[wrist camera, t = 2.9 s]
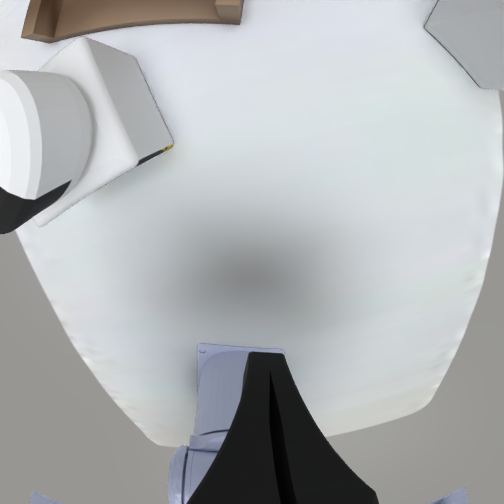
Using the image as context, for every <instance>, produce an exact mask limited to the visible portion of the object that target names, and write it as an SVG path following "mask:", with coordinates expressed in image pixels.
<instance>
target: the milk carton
mask: <svg viewBox="0 0 504 504" xmlns="http://www.w3.org/2000/svg"><path fill="white" fill-rule="evenodd" d="M425 28H426V29H427V30H428V31H429V32H430V33H431V34H432V35H433V36H434V37H435V38H436V39H437V40H438V41H439V42H440V43H441V44H442V45H443V46H444V47H445V48H446V49H447V50H448V51H449V52H450V53H451V54H452V55H453V56H454V57H455V59H456V60H457V61H458V62H459V63H460V64H461V65H462V66H463V67H464V69H465V70H466V71H467V72H468V73H469V74H470V76H471V77H472V78H473V79H474V80H475V82H476V83H477V84H478V85H479V86H480V88H483V89H495V90H504V0H439V1H438V3H437V4H436V6H435V8H434V10H433V12H432V14H431V16H430V18H429V19H428V21H427V23H426V25H425Z"/></svg>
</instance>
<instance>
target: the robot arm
mask: <svg viewBox="0 0 504 504" xmlns="http://www.w3.org/2000/svg"><path fill="white" fill-rule="evenodd" d="M200 350H205V352H204V353H202V352H200ZM284 354H285V351H284V350H282V349H270V348H252V347H238V346H226V345H215V344H205V343H200V344H198V346H197V378H198V403H197V411H196V420H195V429H194V435H191V437H190V446H189V447H188V446H184V445H183V446H180V447H179V449H177V450H176V451H174V453H173V455H172V458H171V462H170V468H169V476H168V502H169V504H379V502H378V499H377V496H376V493H375V491H374V490H373V489H372V488H370V487H369V486H368V485H367V484H366V483H365V482H364V481H362V480H361V479H360V478H359V477H358V476H357V475H356V474H355V473H354V472H353V471H352V470H351V469H350V468H349V467H348V466H347V464H345V462H344V461H343V460H342V459H341V457H340V456H339V455H338V454H337V453H336V452H335V450H334V449H333V448H332V446H331V445H330V444H329V442H328V441H327V440H326V438H325V437H324V435H323V434H322V432H321V431H320V429H319V428H318V426H317V425H316V423H315V421H314V420H313V418H312V416H311V414H310V413H309V411H308V409H307V407H306V405H305V403H304V401H303V399H302V397H301V395H300V393H299V391H298V389H297V387H296V385H295V382H294V380H293V378H292V375H291V373H290V370H289V368H288V365H287V362H286V359H285V356H284ZM30 504H64V503H61V502H59V501H56V500H54V499H50V498H47V497H45V496H43V495H41V494H39V493H36V492H32V496H31V501H30ZM427 504H469V503H468V498H467V494H466V490H465V488H462V489H459V490H457V491H455V492H453V493H451V494H449V495H447V496H444V497H441V498H439V499H436V500H434V501H431V502H429V503H427Z"/></svg>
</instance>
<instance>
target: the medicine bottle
mask: <svg viewBox="0 0 504 504" xmlns="http://www.w3.org/2000/svg"><path fill="white" fill-rule="evenodd" d="M171 147H173V140H172V138H171V136H170V133H169V131H168V129H167V127H166V125H165V123H164V121H163V118H162V116H161V114H160V112H159V110H158V108H157V106H156V103H155V101H154V99H153V97H152V95H151V93H150V90H149V88H148V86H147V84H146V82H145V79H144V77H143V75H142V73H141V70H140V68H139V66H138V64H137V62H136V59H135V58H134V57H133V56H131V55H129V54H127V53H125V52H122V51H120V50H117V49H115V48H113V47H110V46H108V45H105V44H103V43H100V42H98V41H95V40H92V39H90V38H87V37H82V36H81V37H78V38H76V39H75V40H73V41H72V42H71V43H69V44H68V45H67V46H66V47H64V48H63V49H62V50H61V51H59V52H58V53H57V54H56V55H55V56H54V57H52V58H51V59H50V60H49V61H48V62H47V63H46V64H44V65H43V66H42V67H41V68H40V69H39V70H38V71H20V70H0V234H5V233H9V232H11V231H13V230H15V229H17V228H18V227H19V226H21V225H22V224H24V223H25V222H27V221H28V220H29V219H31V218H32V219H33V221H34V223H35V224H36V226H37V227H43V226H45V225H46V224H48V223H49V222H50V221H52V220H53V219H55V218H56V217H57V216H59V215H60V214H62V213H63V212H64V211H66V210H67V209H69V208H70V207H72V206H73V205H75V204H76V203H78V202H79V201H81V200H82V199H84V198H85V197H87V196H88V195H90V194H91V193H93V192H95V191H96V190H98V189H99V188H101V187H102V186H104V185H106V184H107V183H109V182H111V181H112V180H114V179H116V178H117V177H119V176H121V175H122V174H124V173H126V172H128V171H129V170H131V169H133V168H135V167H136V166H138V165H140V164H142V163H144V162H145V161H147V160H149V159H151V158H153V157H155V156H157V155H159V154H161V153H162V152H164V151H166V150H168V149H170V148H171Z"/></svg>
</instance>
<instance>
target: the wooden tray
mask: <svg viewBox="0 0 504 504" xmlns="http://www.w3.org/2000/svg"><path fill="white" fill-rule="evenodd" d="M243 2H244V0H30V3H29V7H28V10H27V14H26V18H25V22H24V26H23V30H22V34H21V38H24V39H30V40H35V41H41V42H45V43H53V42H56V41H60V40H63V39H67V38H71V37H75V36H80V35H84V34H89V33H94V32H99V31H105V30H111V29H118V28H125V27H133V26H142V25H154V24H171V23H217V24H234V25H240V20H241V14H242V8H243Z"/></svg>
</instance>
